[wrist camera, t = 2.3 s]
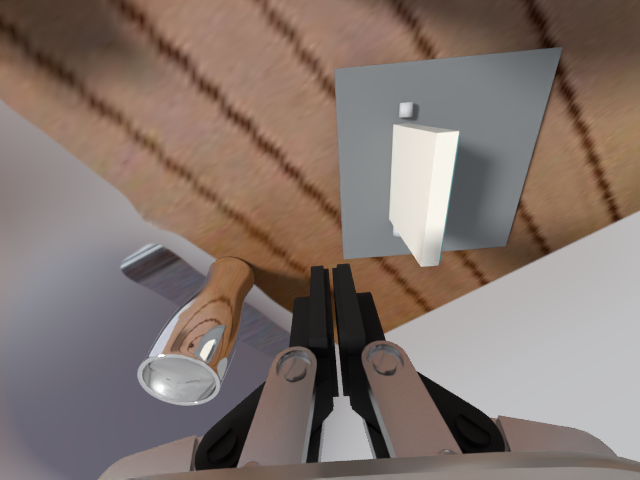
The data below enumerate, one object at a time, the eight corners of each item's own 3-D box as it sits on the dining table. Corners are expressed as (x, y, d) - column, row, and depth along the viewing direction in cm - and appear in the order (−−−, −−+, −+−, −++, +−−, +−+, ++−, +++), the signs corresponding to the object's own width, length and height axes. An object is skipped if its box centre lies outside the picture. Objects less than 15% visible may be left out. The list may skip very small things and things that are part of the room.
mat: (334, 70, 24) (336, 66, 22) (551, 49, 23) (575, 43, 21) (343, 254, 33) (345, 264, 31) (499, 241, 33) (512, 251, 30)
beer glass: (265, 264, 34) (231, 366, 20) (249, 302, 36) (212, 414, 23) (212, 246, 32) (138, 343, 19) (200, 287, 35) (130, 396, 22)
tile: (393, 124, 25) (436, 132, 16) (409, 123, 25) (462, 130, 16) (389, 219, 29) (421, 266, 21) (403, 217, 29) (441, 265, 21)
